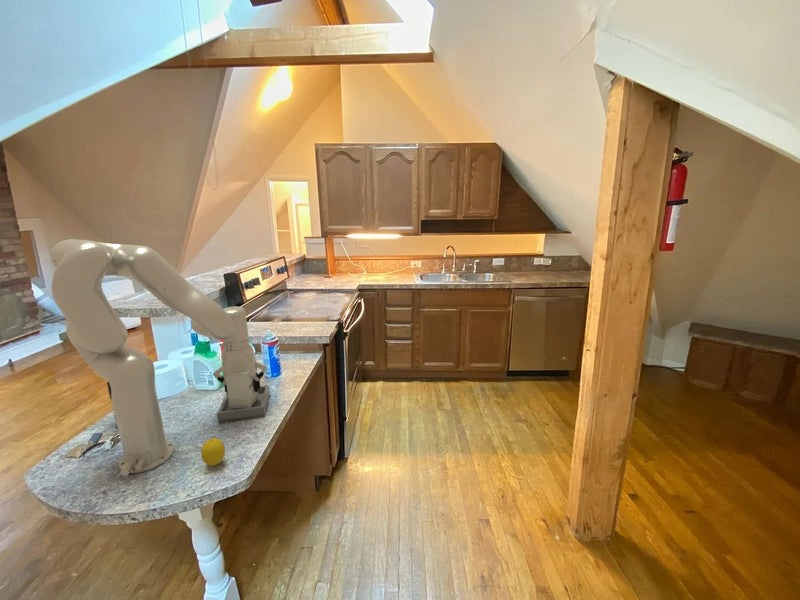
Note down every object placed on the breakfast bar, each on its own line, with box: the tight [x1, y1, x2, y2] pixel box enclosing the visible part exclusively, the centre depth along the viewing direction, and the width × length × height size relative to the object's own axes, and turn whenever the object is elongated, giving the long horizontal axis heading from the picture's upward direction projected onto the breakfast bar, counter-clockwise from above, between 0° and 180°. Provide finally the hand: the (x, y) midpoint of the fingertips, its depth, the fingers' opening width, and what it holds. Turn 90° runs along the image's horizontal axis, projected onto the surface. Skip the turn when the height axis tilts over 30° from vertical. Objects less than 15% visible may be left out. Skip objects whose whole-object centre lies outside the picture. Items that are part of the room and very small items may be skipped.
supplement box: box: [226, 372, 259, 408], centre depth 122 cm, size 7×7×13 cm
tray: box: [216, 384, 271, 424], centre depth 123 cm, size 16×14×4 cm
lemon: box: [200, 437, 226, 467], centre depth 95 cm, size 6×6×8 cm
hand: (243, 391), depth 122 cm, fingers closed on supplement box, 8 cm apart
